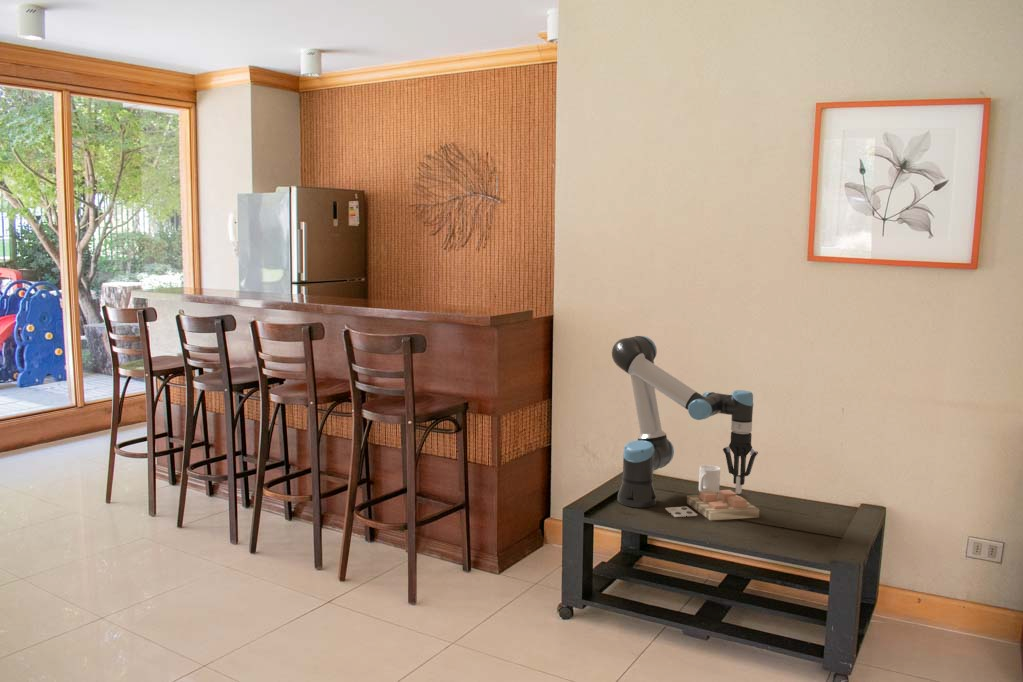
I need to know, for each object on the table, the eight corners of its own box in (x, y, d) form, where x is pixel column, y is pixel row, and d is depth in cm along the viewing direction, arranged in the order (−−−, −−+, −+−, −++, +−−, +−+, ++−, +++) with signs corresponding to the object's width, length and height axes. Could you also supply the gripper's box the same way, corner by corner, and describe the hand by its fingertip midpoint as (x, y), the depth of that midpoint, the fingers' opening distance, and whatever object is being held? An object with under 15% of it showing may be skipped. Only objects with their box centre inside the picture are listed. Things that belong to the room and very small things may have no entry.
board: (686, 503, 324) (687, 495, 324) (733, 500, 329) (733, 493, 328) (710, 520, 305) (710, 512, 305) (759, 517, 310) (759, 509, 309)
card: (665, 509, 316) (665, 507, 316) (686, 508, 318) (687, 506, 318) (675, 517, 308) (675, 515, 308) (697, 515, 310) (697, 513, 310)
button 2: (708, 511, 314) (708, 502, 313) (720, 510, 315) (720, 501, 315) (714, 515, 309) (714, 506, 309) (726, 514, 310) (727, 505, 310)
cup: (722, 491, 340) (723, 467, 339) (710, 498, 331) (711, 473, 330) (703, 487, 345) (704, 463, 344) (691, 494, 336) (692, 469, 335)
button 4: (727, 505, 316) (728, 496, 315) (739, 505, 317) (740, 496, 316) (734, 510, 311) (734, 500, 310) (746, 509, 312) (746, 500, 311)
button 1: (699, 500, 321) (699, 491, 321) (711, 499, 323) (711, 490, 322) (705, 504, 317) (705, 495, 316) (716, 503, 318) (717, 494, 317)
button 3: (718, 499, 323) (718, 490, 323) (729, 498, 324) (730, 489, 324) (724, 503, 318) (724, 494, 318) (735, 502, 320) (736, 493, 319)
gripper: (721, 431, 310) (718, 492, 313) (755, 436, 303) (752, 498, 306) (727, 427, 316) (724, 487, 319) (761, 432, 310) (758, 493, 312)
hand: (738, 492), depth 313 cm, fingers closed
